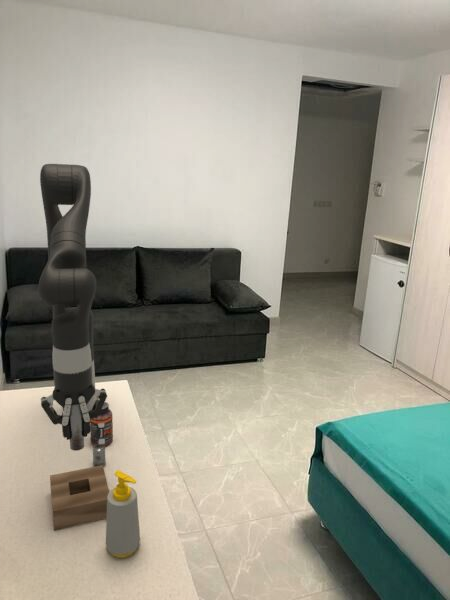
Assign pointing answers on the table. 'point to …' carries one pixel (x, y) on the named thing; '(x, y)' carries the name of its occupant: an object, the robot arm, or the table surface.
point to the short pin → (99, 455)
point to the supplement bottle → (102, 427)
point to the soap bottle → (122, 518)
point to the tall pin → (76, 428)
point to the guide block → (79, 497)
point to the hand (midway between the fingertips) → (76, 435)
